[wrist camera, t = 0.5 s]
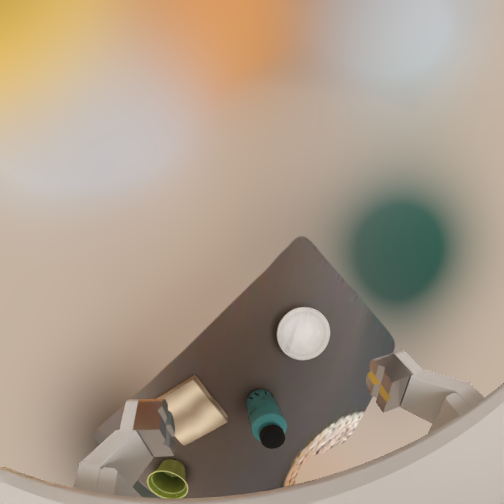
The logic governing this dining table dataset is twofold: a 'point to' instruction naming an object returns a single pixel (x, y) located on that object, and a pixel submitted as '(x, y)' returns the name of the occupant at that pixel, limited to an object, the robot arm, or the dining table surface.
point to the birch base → (193, 410)
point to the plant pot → (168, 480)
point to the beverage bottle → (266, 419)
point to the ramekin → (303, 333)
